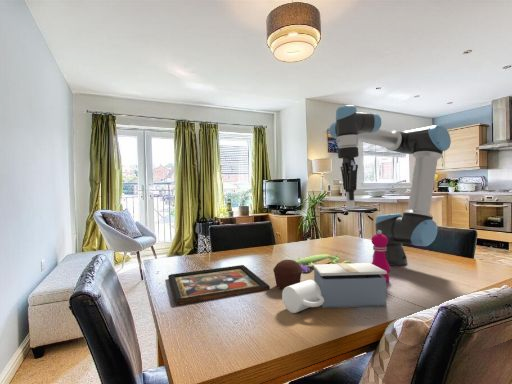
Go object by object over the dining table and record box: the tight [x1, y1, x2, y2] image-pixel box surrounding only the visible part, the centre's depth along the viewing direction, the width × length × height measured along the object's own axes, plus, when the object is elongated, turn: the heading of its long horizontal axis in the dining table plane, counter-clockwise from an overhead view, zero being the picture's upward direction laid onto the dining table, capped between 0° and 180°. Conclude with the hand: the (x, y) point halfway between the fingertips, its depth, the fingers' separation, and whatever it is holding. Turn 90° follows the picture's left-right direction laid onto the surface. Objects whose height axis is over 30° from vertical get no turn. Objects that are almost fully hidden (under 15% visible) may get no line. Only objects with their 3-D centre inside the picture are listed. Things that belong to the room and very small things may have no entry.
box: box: [313, 267, 387, 309], centre depth 98 cm, size 20×14×9 cm
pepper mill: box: [371, 230, 391, 283], centre depth 115 cm, size 7×7×20 cm
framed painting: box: [167, 264, 271, 307], centre depth 118 cm, size 38×35×3 cm
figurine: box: [293, 253, 352, 273], centre depth 136 cm, size 18×27×6 cm
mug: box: [281, 279, 324, 314], centre depth 91 cm, size 12×10×8 cm
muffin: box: [272, 259, 303, 291], centre depth 112 cm, size 12×11×10 cm
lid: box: [312, 262, 387, 276], centre depth 98 cm, size 21×14×1 cm
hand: (350, 208), depth 112 cm, fingers closed
